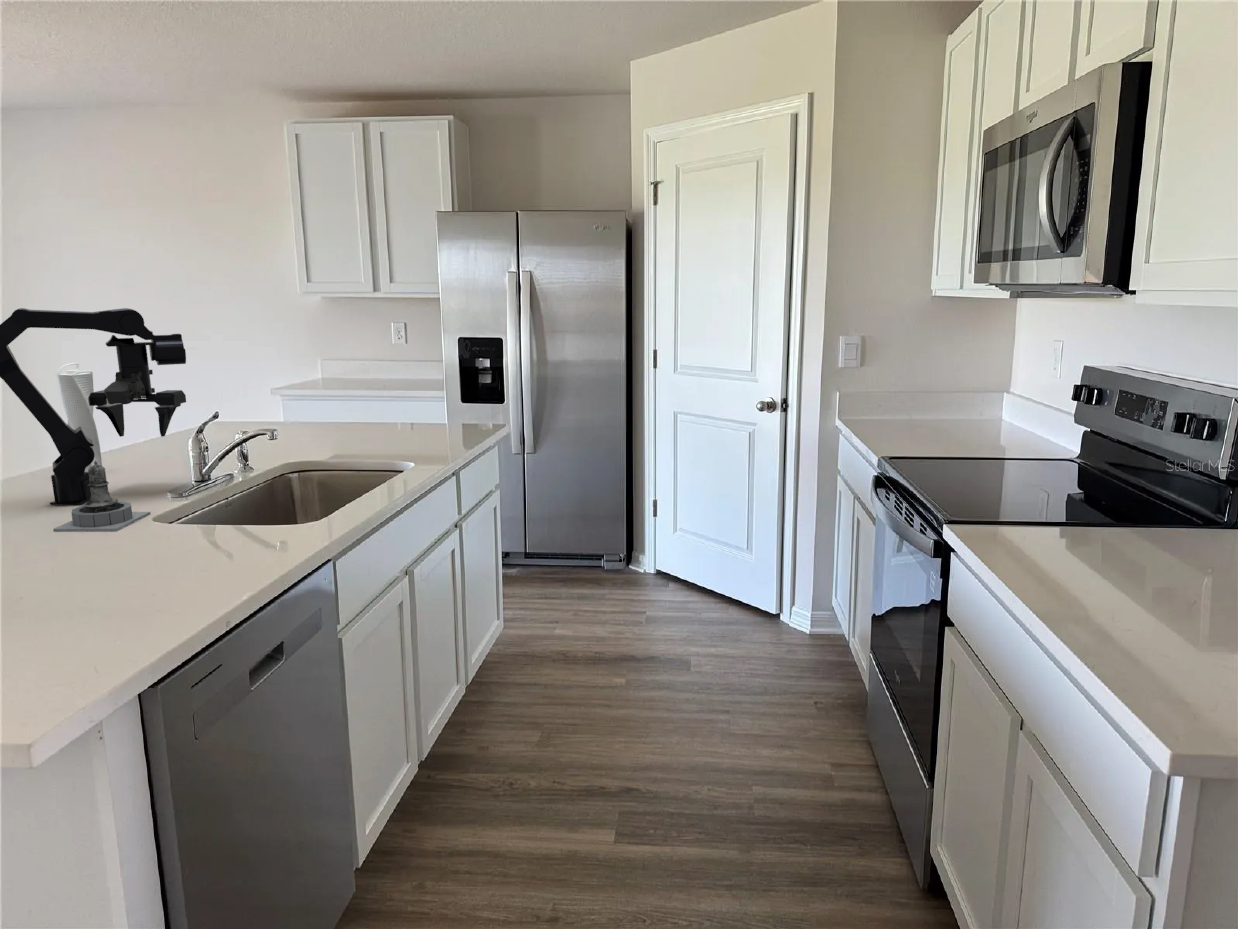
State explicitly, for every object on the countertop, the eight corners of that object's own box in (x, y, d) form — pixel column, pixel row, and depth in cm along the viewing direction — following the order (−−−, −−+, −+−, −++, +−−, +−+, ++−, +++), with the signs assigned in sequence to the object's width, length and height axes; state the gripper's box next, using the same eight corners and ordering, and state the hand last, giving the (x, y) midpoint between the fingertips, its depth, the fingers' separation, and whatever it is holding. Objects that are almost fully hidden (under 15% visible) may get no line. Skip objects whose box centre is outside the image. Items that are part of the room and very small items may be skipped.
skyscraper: (70, 475, 205) (54, 362, 199) (108, 472, 209) (93, 361, 203) (65, 483, 198) (47, 365, 192) (104, 479, 201) (88, 364, 195)
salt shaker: (127, 516, 167) (119, 458, 164) (106, 524, 161) (98, 464, 159) (100, 515, 167) (92, 457, 165) (78, 523, 162) (70, 463, 159)
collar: (53, 531, 158) (51, 516, 158) (92, 514, 170) (90, 500, 169) (116, 531, 158) (114, 516, 158) (150, 514, 170) (148, 500, 170)
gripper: (67, 370, 174) (77, 443, 177) (156, 370, 174) (165, 443, 177) (99, 365, 184) (108, 433, 188) (183, 365, 185) (191, 433, 188)
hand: (142, 436), depth 185 cm, fingers open, 9 cm apart
